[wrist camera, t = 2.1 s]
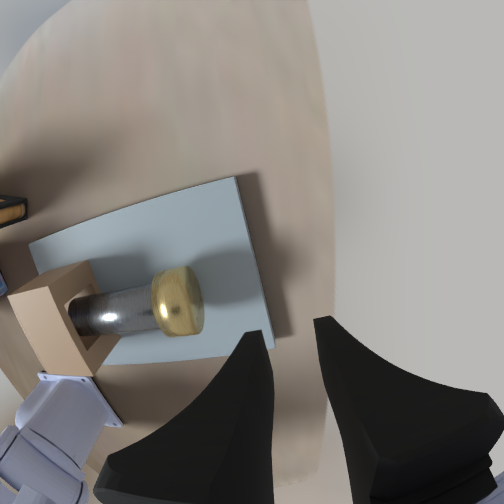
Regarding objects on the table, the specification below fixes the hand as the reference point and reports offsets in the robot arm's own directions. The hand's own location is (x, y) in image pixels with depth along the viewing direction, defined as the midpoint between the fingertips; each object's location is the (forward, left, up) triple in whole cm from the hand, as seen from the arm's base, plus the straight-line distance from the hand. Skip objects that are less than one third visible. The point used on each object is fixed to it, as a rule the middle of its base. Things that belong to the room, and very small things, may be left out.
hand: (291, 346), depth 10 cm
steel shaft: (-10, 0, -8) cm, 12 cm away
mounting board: (-11, 0, -9) cm, 14 cm away
